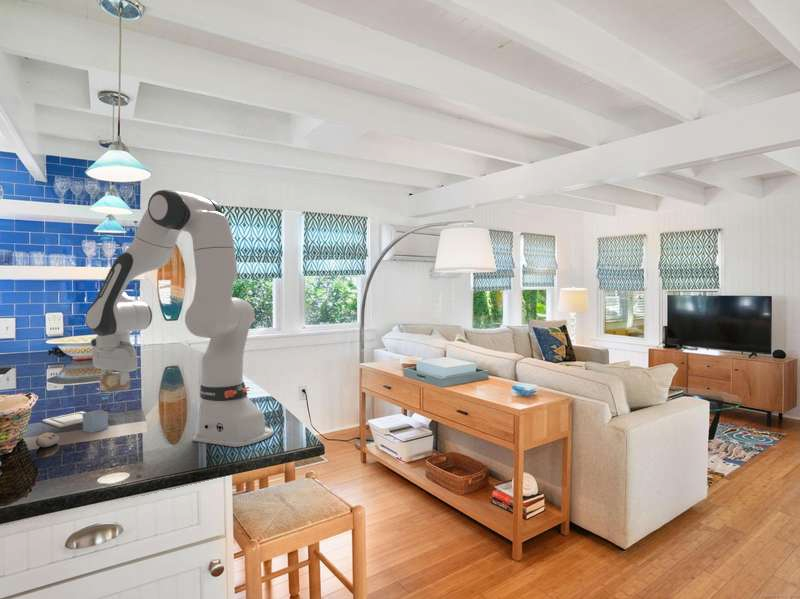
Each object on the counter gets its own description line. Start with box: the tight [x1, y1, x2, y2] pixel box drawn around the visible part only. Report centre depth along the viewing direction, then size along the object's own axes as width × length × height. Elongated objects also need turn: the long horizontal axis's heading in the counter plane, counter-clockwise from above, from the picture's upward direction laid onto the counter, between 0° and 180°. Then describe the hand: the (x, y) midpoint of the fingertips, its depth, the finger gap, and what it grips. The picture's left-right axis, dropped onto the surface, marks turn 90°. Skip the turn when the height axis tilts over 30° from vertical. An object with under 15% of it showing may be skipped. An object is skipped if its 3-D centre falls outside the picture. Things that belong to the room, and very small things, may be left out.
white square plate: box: [42, 410, 87, 428], centre depth 143 cm, size 11×11×1 cm
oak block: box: [99, 371, 131, 393], centre depth 148 cm, size 6×6×5 cm
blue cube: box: [82, 409, 109, 434], centre depth 134 cm, size 5×5×5 cm
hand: (115, 383), depth 148 cm, fingers closed on oak block, 6 cm apart
